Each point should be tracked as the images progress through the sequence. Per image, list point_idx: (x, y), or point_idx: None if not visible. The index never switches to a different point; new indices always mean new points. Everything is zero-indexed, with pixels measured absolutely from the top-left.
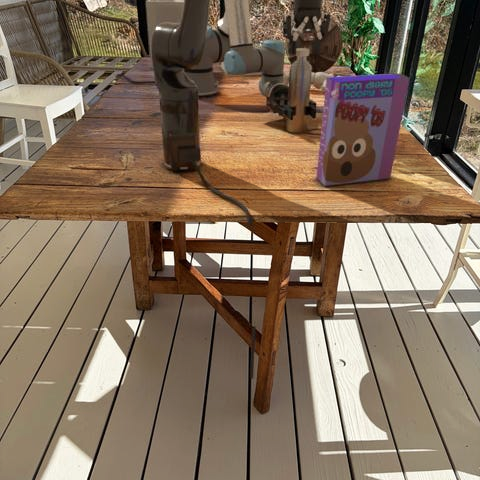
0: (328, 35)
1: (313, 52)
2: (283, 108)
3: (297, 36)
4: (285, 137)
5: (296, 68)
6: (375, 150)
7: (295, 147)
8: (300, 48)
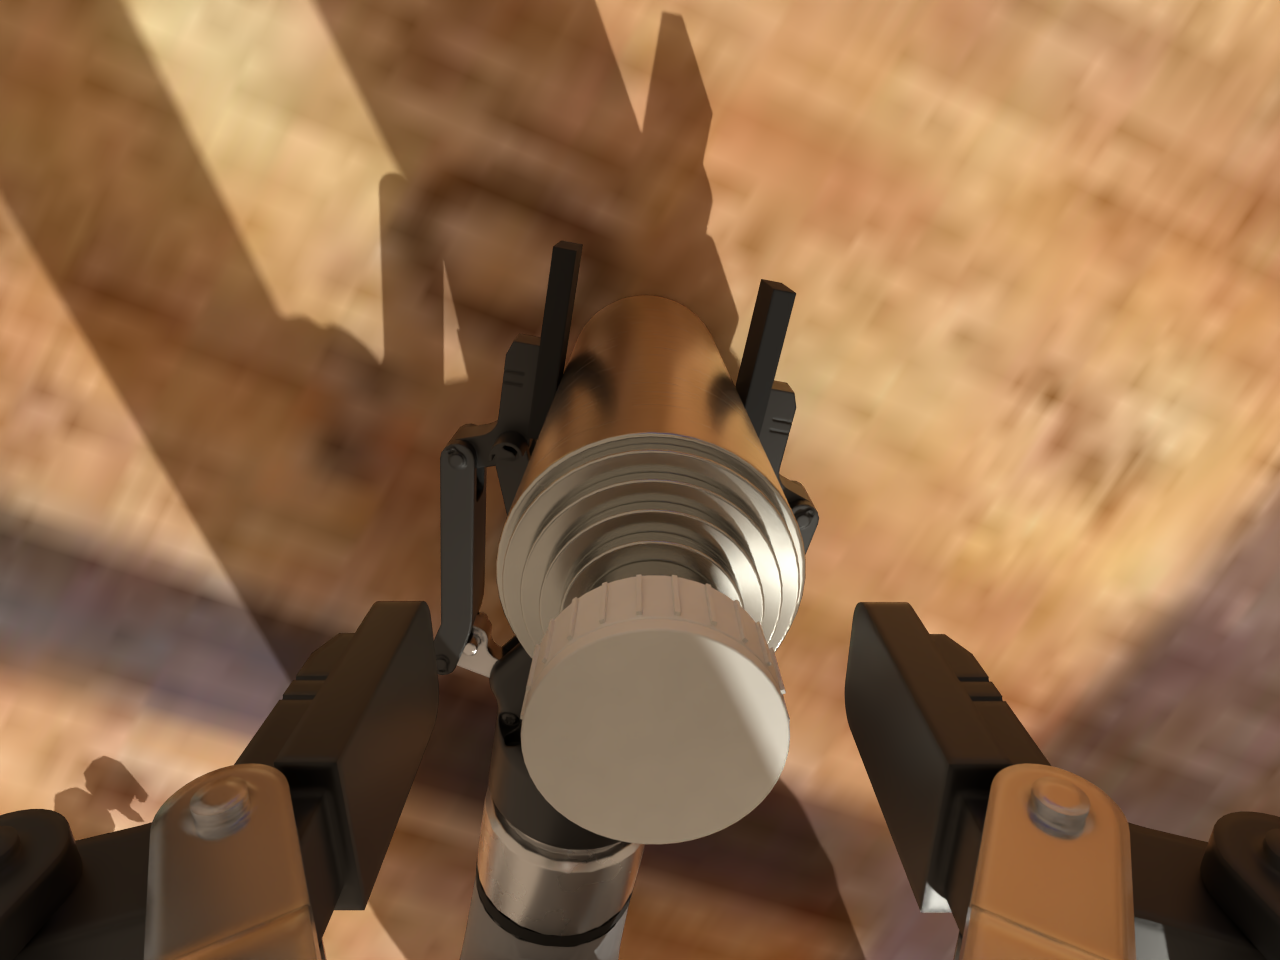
0: None
1: (431, 675)
2: (771, 440)
3: (1005, 851)
4: (803, 250)
5: (776, 507)
6: None
7: (860, 10)
8: (642, 814)
